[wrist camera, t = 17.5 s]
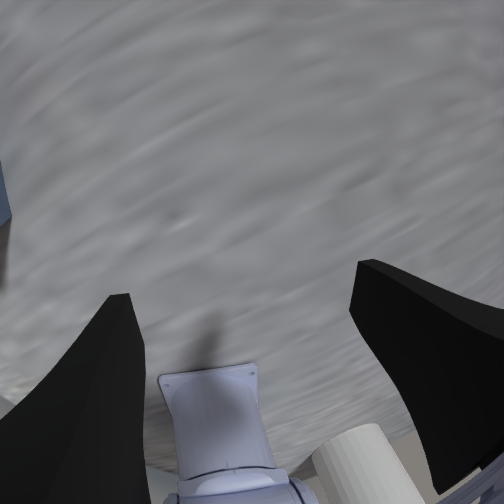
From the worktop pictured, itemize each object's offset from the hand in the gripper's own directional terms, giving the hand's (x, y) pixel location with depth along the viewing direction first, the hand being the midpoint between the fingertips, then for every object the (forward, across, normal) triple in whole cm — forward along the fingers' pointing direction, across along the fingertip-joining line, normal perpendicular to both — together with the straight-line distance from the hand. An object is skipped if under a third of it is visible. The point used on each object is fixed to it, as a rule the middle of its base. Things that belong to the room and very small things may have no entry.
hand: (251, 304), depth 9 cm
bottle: (+10, -16, +38) cm, 43 cm away
